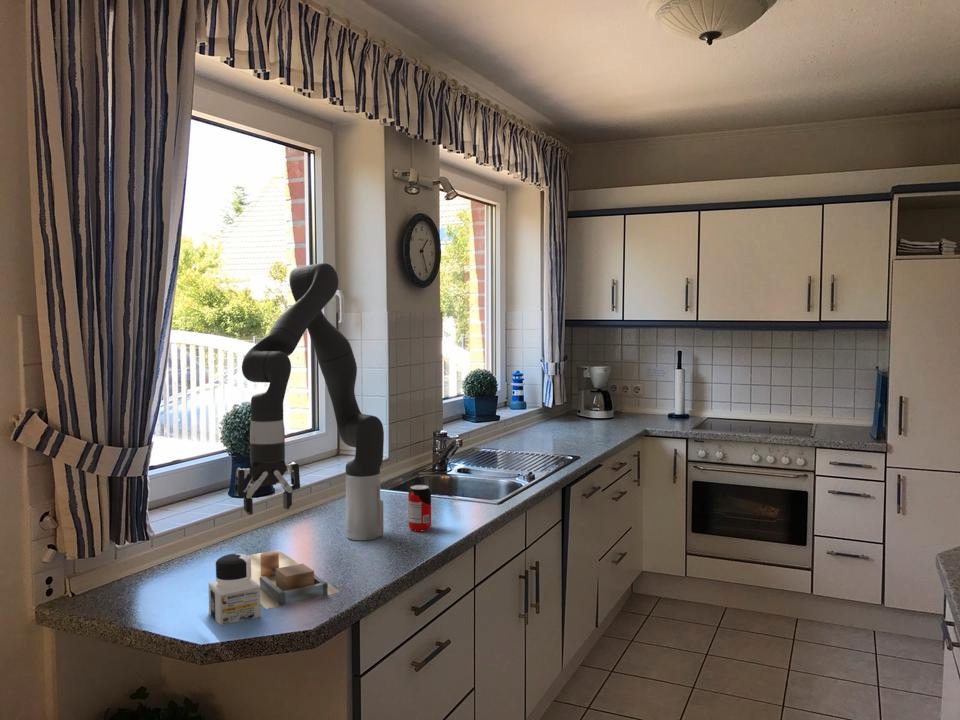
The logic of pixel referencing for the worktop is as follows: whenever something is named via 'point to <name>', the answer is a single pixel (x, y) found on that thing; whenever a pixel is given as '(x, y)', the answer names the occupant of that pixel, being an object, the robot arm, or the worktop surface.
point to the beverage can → (419, 507)
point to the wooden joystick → (285, 572)
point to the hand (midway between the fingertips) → (268, 511)
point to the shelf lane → (277, 597)
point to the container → (234, 590)
